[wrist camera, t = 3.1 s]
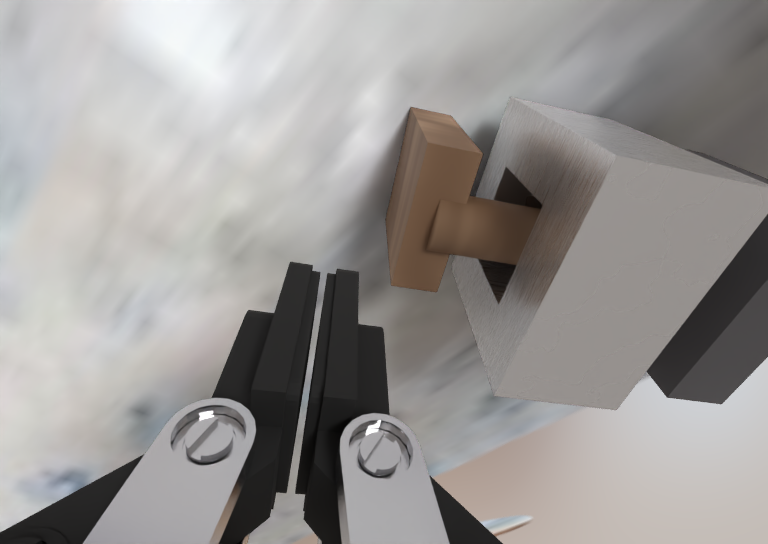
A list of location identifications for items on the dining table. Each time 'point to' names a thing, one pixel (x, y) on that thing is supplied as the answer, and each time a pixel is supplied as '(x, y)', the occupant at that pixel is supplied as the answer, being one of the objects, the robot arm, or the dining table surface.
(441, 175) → the dowel rail
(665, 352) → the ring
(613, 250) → the sleeve
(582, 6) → the dining table surface
